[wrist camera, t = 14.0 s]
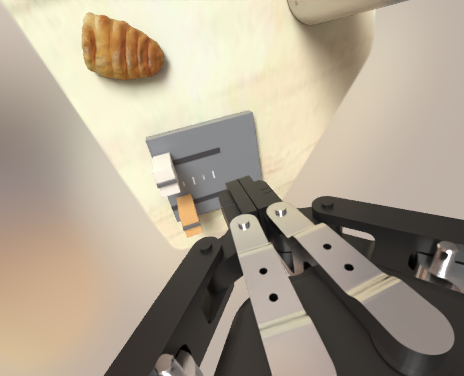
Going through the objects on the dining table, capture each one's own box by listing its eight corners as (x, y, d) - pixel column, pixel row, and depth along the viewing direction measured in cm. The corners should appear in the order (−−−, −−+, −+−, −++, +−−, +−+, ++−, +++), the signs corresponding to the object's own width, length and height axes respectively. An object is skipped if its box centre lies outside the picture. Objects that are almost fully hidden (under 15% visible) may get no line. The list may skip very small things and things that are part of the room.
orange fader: (191, 193, 40) (196, 213, 35) (197, 212, 42) (203, 234, 37) (176, 198, 40) (179, 219, 34) (183, 216, 42) (187, 239, 36)
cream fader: (169, 152, 36) (171, 167, 30) (177, 175, 38) (181, 193, 32) (152, 156, 35) (152, 173, 30) (161, 179, 37) (162, 199, 32)
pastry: (164, 33, 31) (165, 29, 28) (161, 87, 34) (161, 89, 31) (83, 12, 28) (74, 5, 25) (87, 73, 31) (79, 74, 28)
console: (248, 110, 39) (252, 112, 37) (260, 189, 47) (264, 193, 45) (146, 137, 36) (145, 141, 34) (176, 215, 44) (177, 222, 42)
